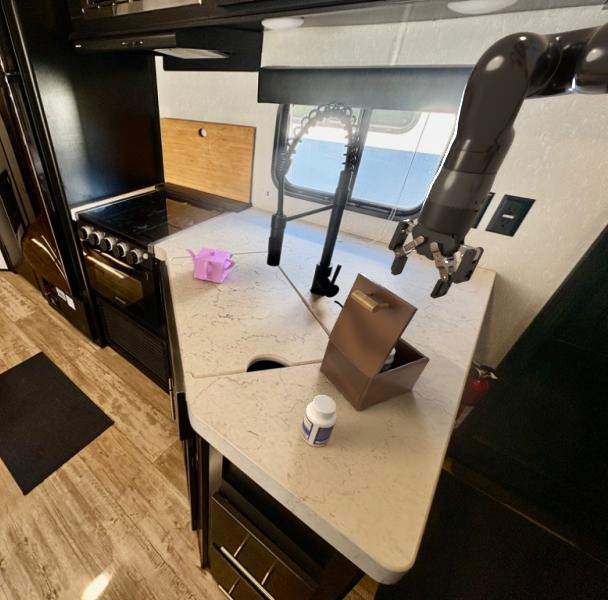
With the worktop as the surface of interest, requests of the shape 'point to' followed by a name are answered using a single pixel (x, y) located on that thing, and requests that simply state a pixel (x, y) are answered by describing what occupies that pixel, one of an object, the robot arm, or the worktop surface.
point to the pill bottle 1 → (319, 421)
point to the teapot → (211, 264)
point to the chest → (385, 385)
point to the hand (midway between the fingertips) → (414, 284)
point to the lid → (370, 324)
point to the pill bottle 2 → (387, 363)
